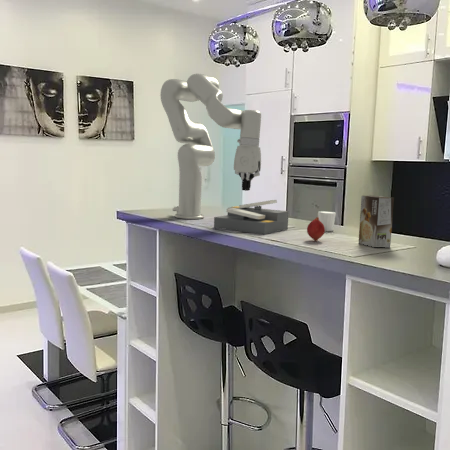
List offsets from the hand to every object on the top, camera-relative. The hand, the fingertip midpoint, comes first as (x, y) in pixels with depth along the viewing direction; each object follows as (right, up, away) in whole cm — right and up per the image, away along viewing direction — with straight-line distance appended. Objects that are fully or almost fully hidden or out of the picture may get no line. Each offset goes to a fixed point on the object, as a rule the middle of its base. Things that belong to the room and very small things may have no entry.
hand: (245, 190), depth 198 cm
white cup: (+31, -16, -1) cm, 35 cm away
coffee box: (+40, -21, -33) cm, 56 cm away
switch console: (+2, -15, -5) cm, 16 cm away
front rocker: (-1, -10, -10) cm, 14 cm away
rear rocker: (+5, -6, -3) cm, 8 cm away
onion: (+22, -19, -28) cm, 41 cm away
